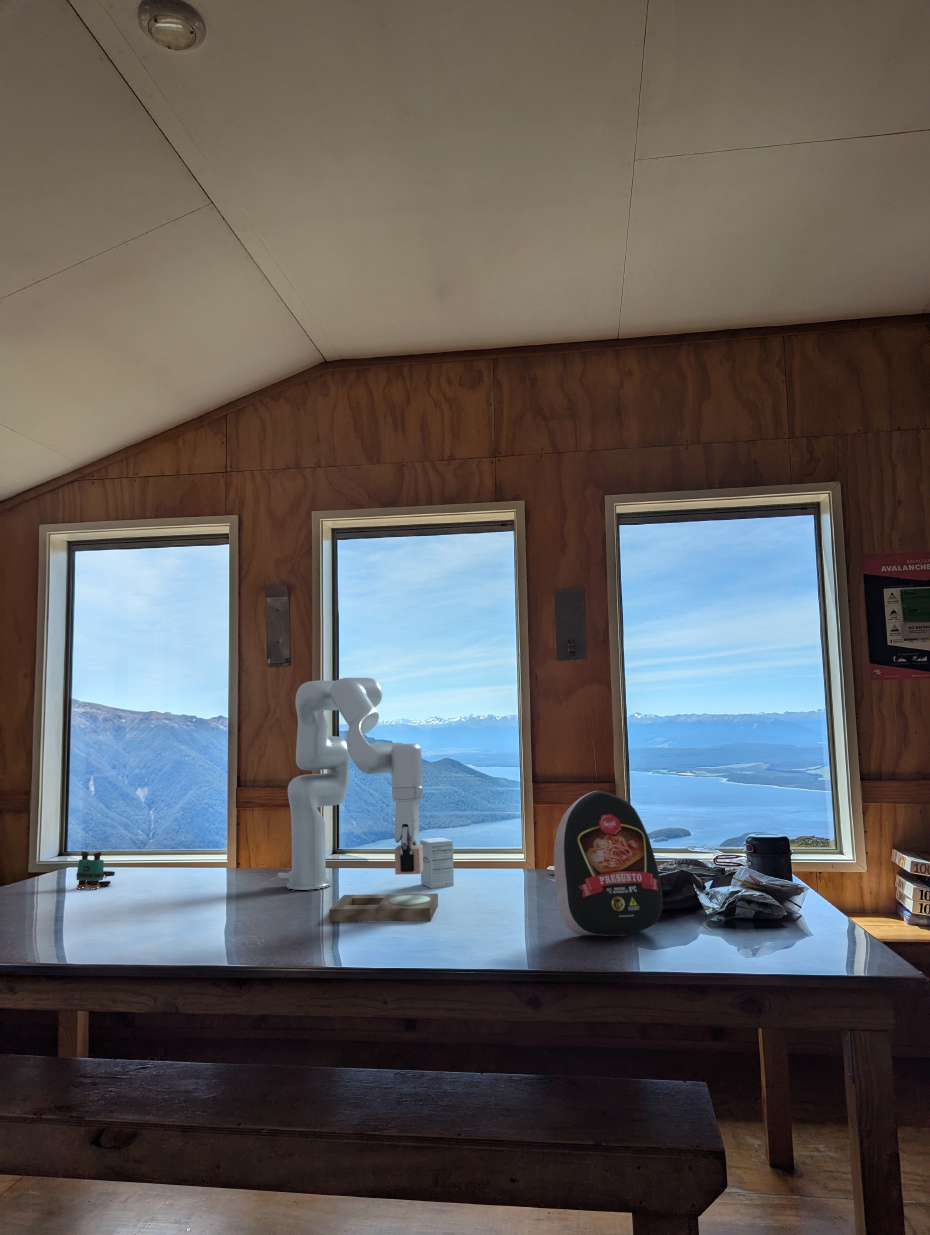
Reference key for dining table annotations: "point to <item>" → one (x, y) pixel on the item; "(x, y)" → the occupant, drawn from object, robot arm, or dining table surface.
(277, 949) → the dining table surface
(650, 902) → the packaged food
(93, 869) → the green boxy piece
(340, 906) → the hole platform
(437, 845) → the supplement box
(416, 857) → the block
